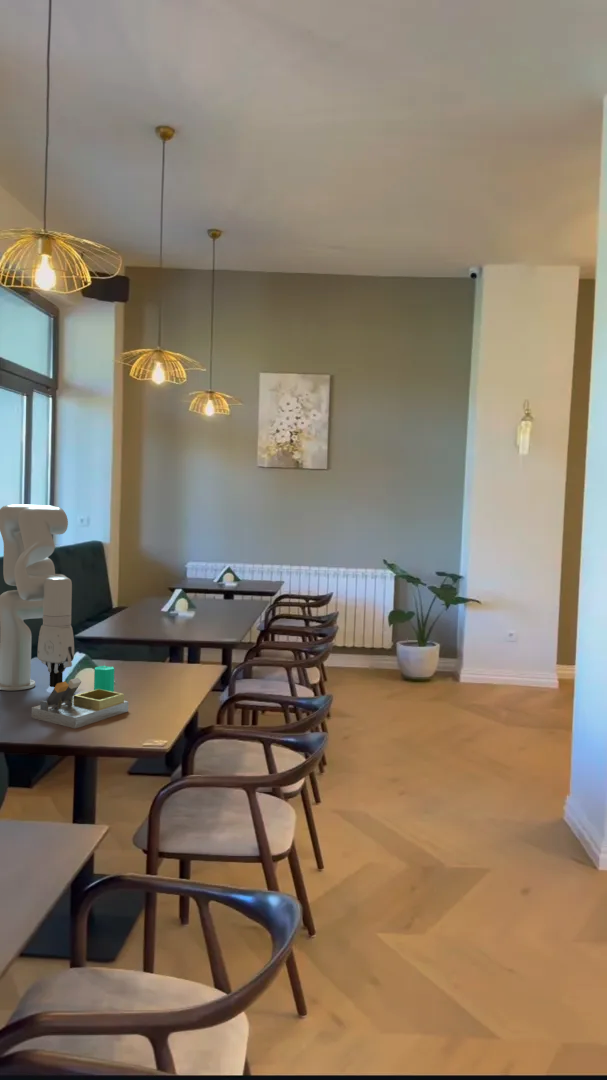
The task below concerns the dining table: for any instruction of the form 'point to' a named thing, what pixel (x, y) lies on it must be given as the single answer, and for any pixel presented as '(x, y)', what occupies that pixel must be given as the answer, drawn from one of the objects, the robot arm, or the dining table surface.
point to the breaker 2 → (70, 689)
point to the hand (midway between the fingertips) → (56, 686)
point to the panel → (82, 708)
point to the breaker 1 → (57, 693)
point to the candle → (104, 678)
